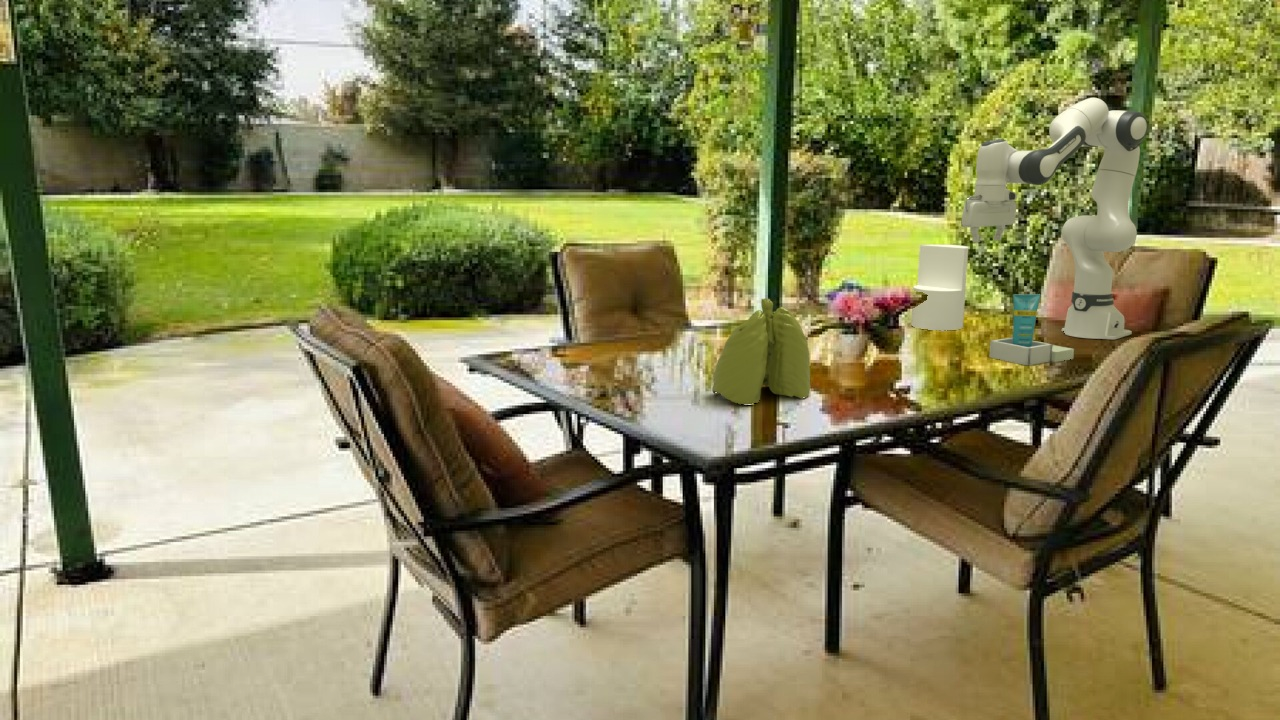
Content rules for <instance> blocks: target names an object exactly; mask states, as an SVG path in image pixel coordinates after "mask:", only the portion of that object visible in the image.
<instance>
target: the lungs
mask: <svg viewBox="0 0 1280 720" xmlns="http://www.w3.org/2000/svg"><path fill="white" fill-rule="evenodd" d="M760 302H761V303H760V304H761V310H760V309H758V310H756V311H755V312H753V313H752V314H751V315H750V316H749V317H748V319H746V321H745V322H743V323H741V324H740V325H738V326H736V327H734V329H733V330H732V332H731V333H730V335H729V337H728V338H727V340H726V342H725V343H724V346H723V349H722V351H721V354H720V356H719V358H718V360H717V363H716V366H715V370H714V372H713V374H712V375H713V376H712V377H713V379H712V380H713V385H712V388H711V389H712V393H713V394H714V393H715V392H717V393H718V394H721V396H722V397H724V398H725V399H726V400H728V401H731V402H732V403H735V404H737V403H738V405H741V404H752V403H755V402H758V401H759V400H760V401H761V394H762V387H763V386H768V387H769V390H770V391H771V392H772V393H773V394H775V395H781V396H787V397H790V398H793V397H797V398H799V399H801V398H803V397H806V398H807V397H808V396H809V394H810V390H811V373H810V372H811V371H810V361H811V360H810V348H809V344H808V339H807V337H806V335H805V333H804V331H803V328H802V327H801V325H800V323H799V321H798V320H797V318H796V317H795V316H794V315H793V313H792V311H790V310H788V309H787V308H785V307H782V306H781V307H778V308H776V310H775V311H773V308H774V302H773V301H772V300H771V299H770V298H761V301H760ZM760 401H759V402H760Z"/></svg>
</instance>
